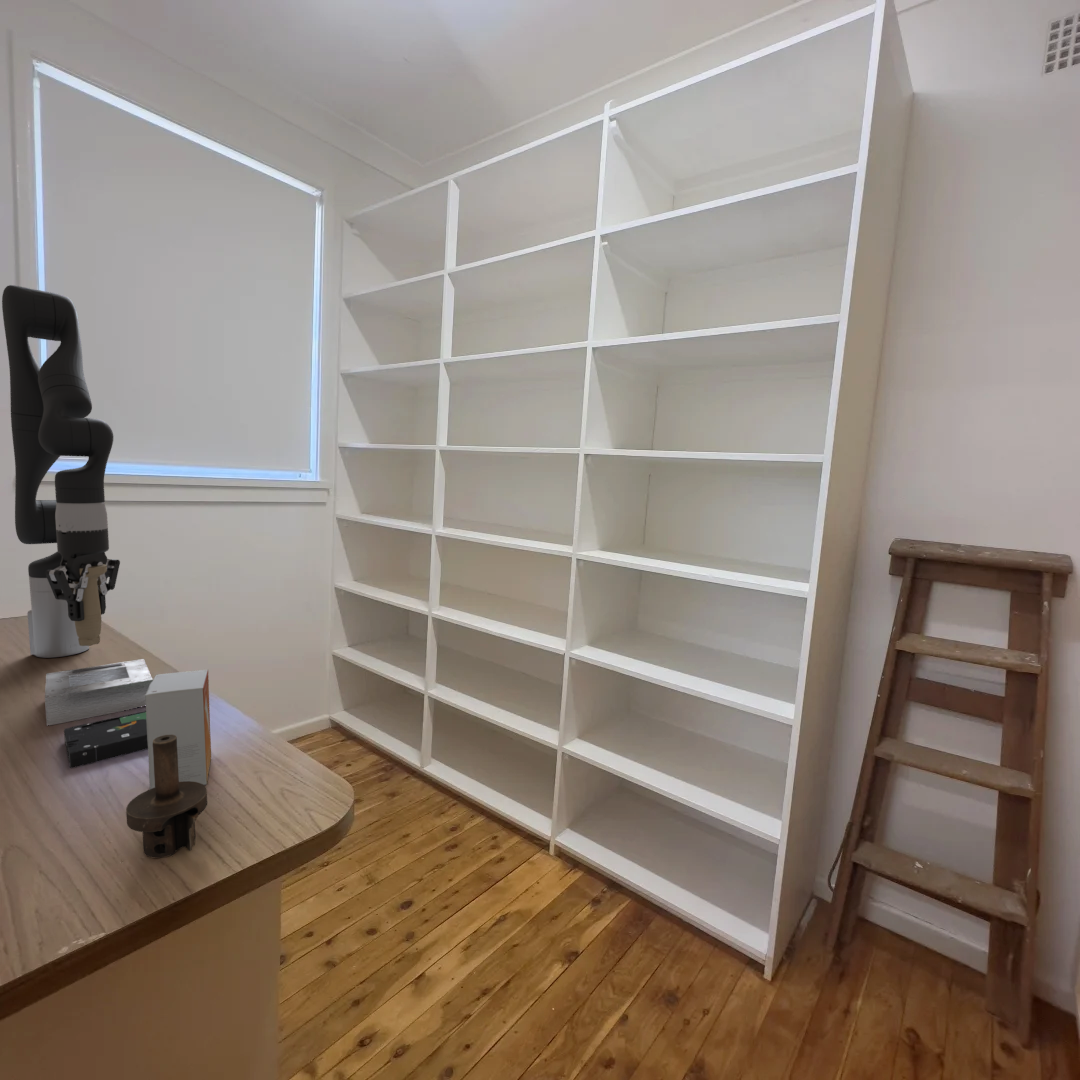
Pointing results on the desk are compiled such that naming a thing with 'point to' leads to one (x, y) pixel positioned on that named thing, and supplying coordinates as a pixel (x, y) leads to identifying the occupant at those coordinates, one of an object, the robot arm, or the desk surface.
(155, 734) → the small box
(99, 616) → the handle
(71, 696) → the socket block
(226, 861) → the desk surface
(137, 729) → the disk drive
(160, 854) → the industrial component
